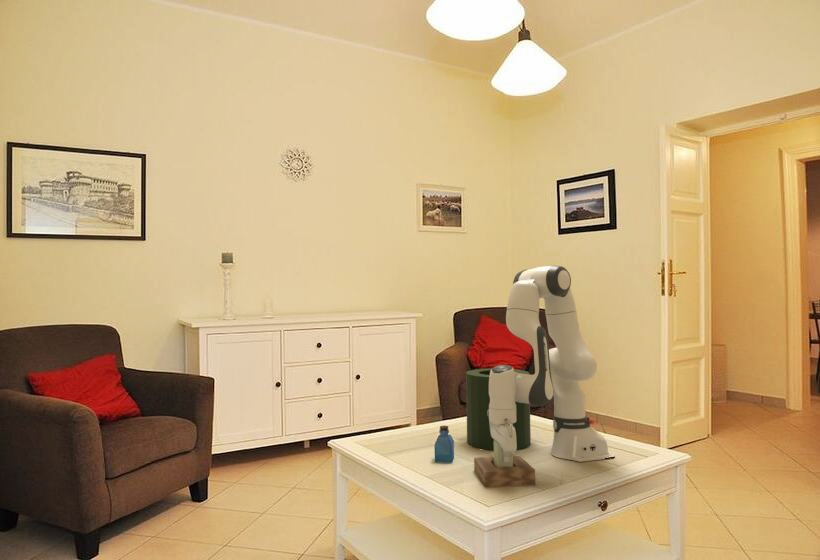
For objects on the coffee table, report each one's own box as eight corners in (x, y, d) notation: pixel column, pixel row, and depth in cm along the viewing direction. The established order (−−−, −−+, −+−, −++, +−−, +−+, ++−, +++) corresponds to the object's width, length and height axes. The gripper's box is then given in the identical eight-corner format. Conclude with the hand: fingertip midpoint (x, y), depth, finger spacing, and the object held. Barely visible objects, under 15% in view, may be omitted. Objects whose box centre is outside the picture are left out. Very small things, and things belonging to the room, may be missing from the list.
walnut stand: (520, 468, 194) (520, 455, 194) (535, 484, 178) (535, 470, 178) (474, 470, 192) (474, 457, 192) (485, 487, 176) (484, 472, 176)
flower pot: (543, 442, 227) (541, 372, 228) (505, 455, 210) (504, 379, 210) (492, 431, 245) (491, 366, 246) (454, 443, 228) (453, 373, 228)
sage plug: (508, 467, 188) (508, 439, 188) (513, 471, 183) (512, 443, 183) (494, 467, 187) (493, 440, 187) (497, 472, 182) (497, 444, 182)
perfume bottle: (451, 462, 202) (451, 428, 202) (434, 462, 203) (434, 428, 203) (454, 457, 208) (453, 424, 208) (437, 457, 209) (436, 424, 209)
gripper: (521, 422, 175) (522, 468, 175) (504, 409, 196) (504, 449, 195) (501, 423, 175) (502, 468, 174) (486, 409, 195) (486, 450, 195)
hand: (503, 458), depth 185 cm, fingers closed on sage plug, 5 cm apart
